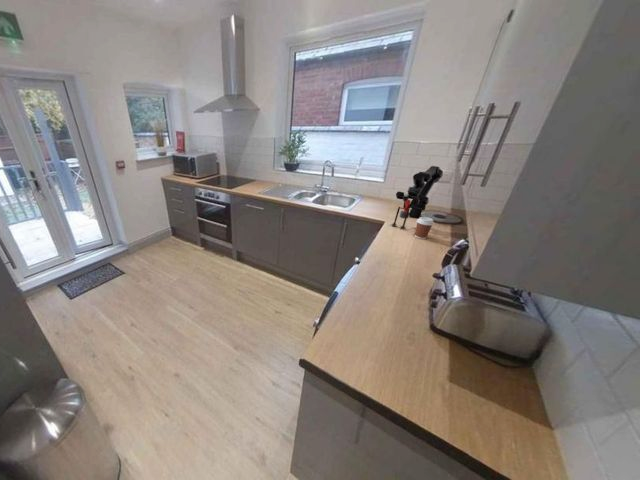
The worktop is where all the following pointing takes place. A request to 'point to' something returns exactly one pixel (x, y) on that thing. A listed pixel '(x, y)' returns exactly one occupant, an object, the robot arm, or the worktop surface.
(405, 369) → the worktop surface
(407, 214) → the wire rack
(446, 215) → the worktop surface
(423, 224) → the coffee cup
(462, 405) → the worktop surface
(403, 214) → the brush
